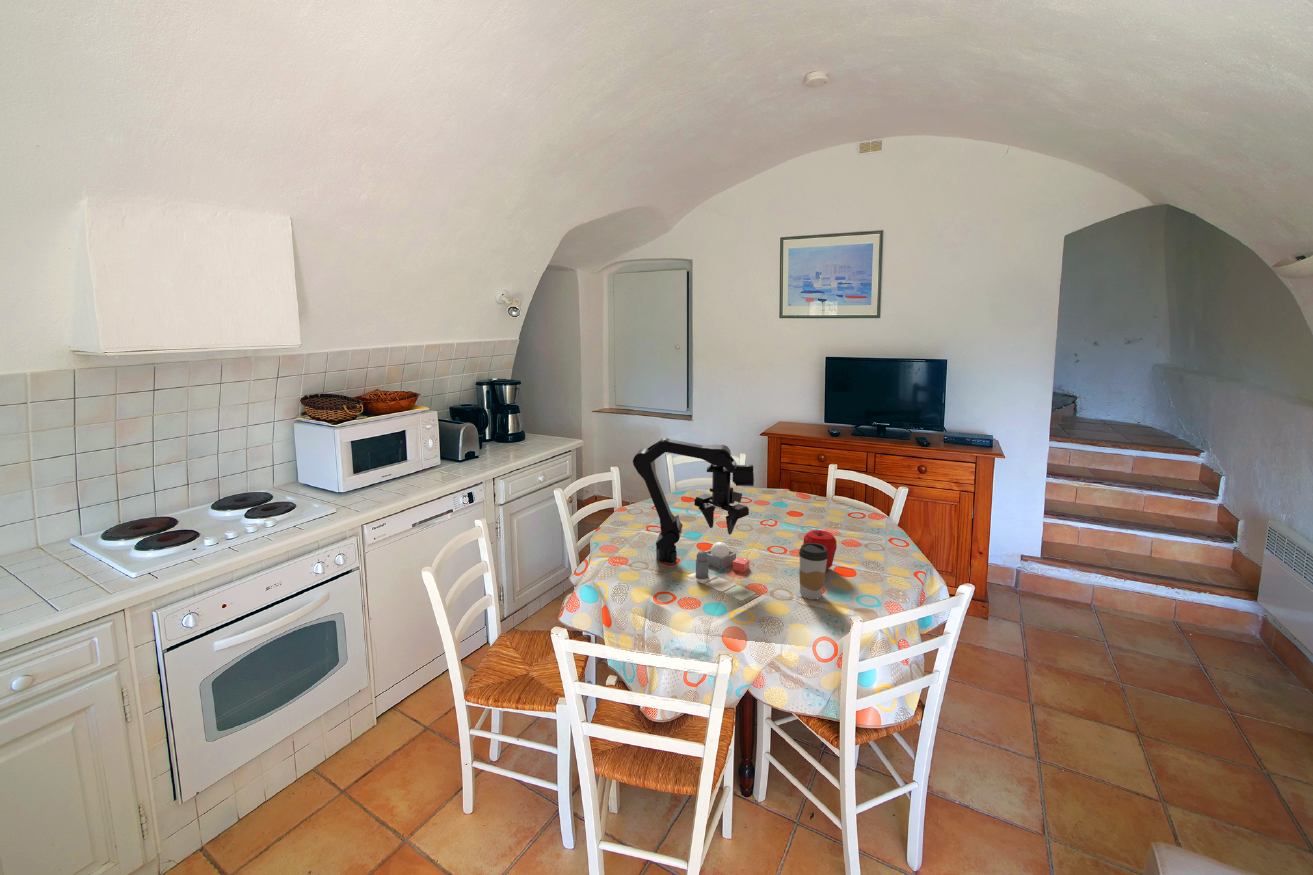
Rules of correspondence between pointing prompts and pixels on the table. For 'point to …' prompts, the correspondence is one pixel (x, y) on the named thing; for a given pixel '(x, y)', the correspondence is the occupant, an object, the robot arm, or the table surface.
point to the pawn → (702, 565)
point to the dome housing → (721, 559)
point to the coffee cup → (812, 569)
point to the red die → (740, 564)
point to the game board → (725, 587)
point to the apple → (823, 543)
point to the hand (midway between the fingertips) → (720, 530)
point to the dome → (720, 550)
